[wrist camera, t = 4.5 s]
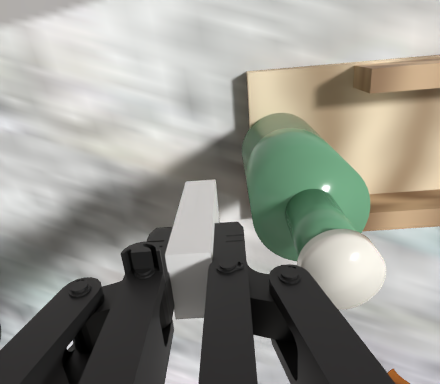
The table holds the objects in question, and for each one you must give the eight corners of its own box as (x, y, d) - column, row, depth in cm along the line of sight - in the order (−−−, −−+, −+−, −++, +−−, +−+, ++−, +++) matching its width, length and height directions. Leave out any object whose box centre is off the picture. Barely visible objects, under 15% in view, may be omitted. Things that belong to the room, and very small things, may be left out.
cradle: (253, 212, 29) (261, 255, 23) (246, 71, 24) (253, 81, 19) (531, 193, 28) (610, 232, 22) (575, 43, 23) (687, 44, 18)
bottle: (244, 187, 27) (265, 341, 13) (239, 116, 24) (259, 210, 11) (316, 182, 26) (414, 333, 13) (317, 109, 24) (439, 198, 11)
